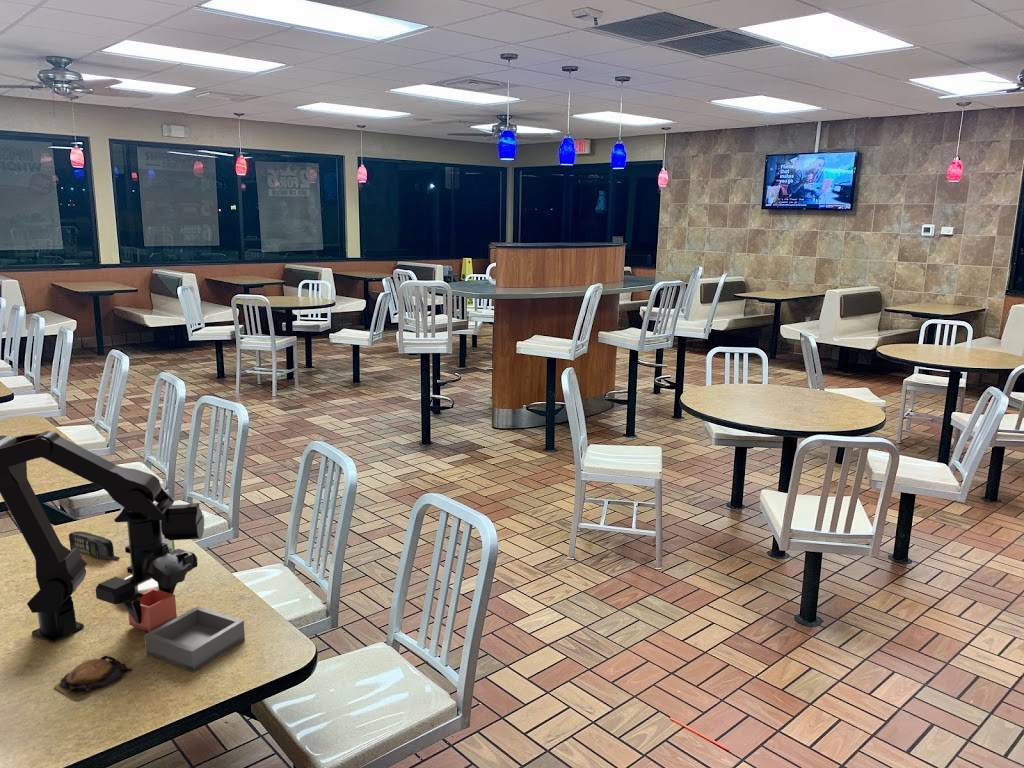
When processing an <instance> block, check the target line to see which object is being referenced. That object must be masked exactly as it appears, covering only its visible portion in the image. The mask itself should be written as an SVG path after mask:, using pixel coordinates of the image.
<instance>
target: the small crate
mask: <svg viewBox="0 0 1024 768" xmlns="http://www.w3.org/2000/svg"><path fill="white" fill-rule="evenodd" d="M143 594H144V595H143V596H142V598H141V599H140V606H141V616H142V617H141V623H140V624H138V623H136V622H135V621H134V619H133V618H132V616H131V615H130V613H129V612H128V611H127V616H128V623H129V625H130V626H132V627H135V628H137V629H140V630H142V631H147V633H149V632H151V631H153V630H155V629H157V628H158V627H160V626H162V625H164V624H166V623H168V622H169V621H171V620H173V619H175V618H177V617H178V614H177V605H176V604H177V602H176V595H175V594H174V593H173V594H171V593H167V592H164V591H161V590H158V589H155V588H153V589H151V590H149V591H147V592H145V593H143Z"/></svg>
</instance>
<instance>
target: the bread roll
mask: <svg viewBox="0 0 1024 768" xmlns="http://www.w3.org/2000/svg"><path fill="white" fill-rule="evenodd" d="M132 670H133V668H132V667H130V668H129V667H128V666H126V664H125V663H122V662H120V661H119V660H118V659H115V658H114V657H112V656H108V655H103V656H102V657H101V658H93V659H89V660H86V661H83V662H82V663H80V664H79V665H77V666H76V667H75V668H73V670H71V671H70V672H68V673H66V674H65V675H64V676H63V677H62V678H61V679H60V682H59V683H57V684H55V685H54V686H53V690H55V691H57V692H58V693H60V694H62V695H64V696H66V697H67V698H70V699H71V700H73V701H75V702H80V701H82V700H83V699H86V698H88V697H91V696H92V695H94V694H97V693H98V692H101V691H103V690H104V689H106V688H108V687H110V686H112V685H114V684H115V683H117V682H119V681H121V680H123V679H124V678H126V677H127V675H128V673H129V672H132Z"/></svg>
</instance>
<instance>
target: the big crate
mask: <svg viewBox="0 0 1024 768" xmlns="http://www.w3.org/2000/svg"><path fill="white" fill-rule="evenodd" d="M244 622H245V621H244V620H242V619H239V618H236V617H233V616H230V615H227V614H224V613H220V612H217V611H214V610H211V609H207V608H204V607H201V606H195V607H194V608H192V609H190V610H189V611H185V613H183V614H180V615H179V616H177V618H175V619H173V620H171V621H169V622H168V623H166V624H164V625H162V626H160V627H158V628H157V629H155V630H153V631H151V632H147V633H146V634H144V646H145V655H146V656H148V657H150V658H153V659H156V660H158V661H161V662H164V663H165V664H166V663H167V664H170V665H172V666H175V667H177V668H180V669H183V670H186V671H189V672H192V673H195V672H198V670H200V669H201V668H204V666H206V665H208V664H209V663H211V662H212V661H214V660H216V659H218V658H220V656H222V655H223V654H225V653H227V652H229V651H230V650H231V649H233V648H235V647H237V646H238V645H239V644H241V643H243V642H245V640H246V638H245V637H246V634H245V623H244Z"/></svg>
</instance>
